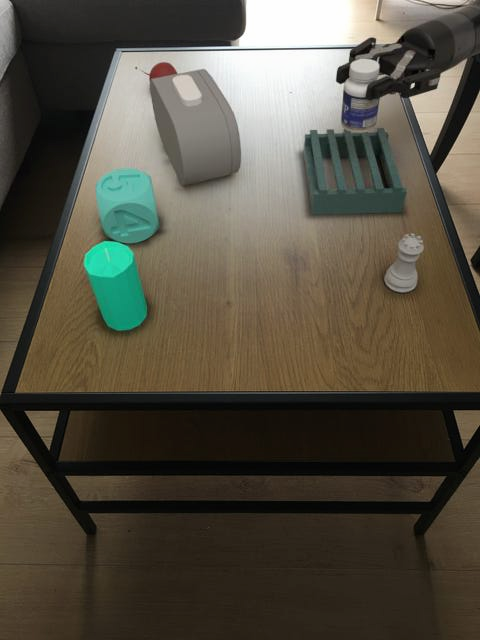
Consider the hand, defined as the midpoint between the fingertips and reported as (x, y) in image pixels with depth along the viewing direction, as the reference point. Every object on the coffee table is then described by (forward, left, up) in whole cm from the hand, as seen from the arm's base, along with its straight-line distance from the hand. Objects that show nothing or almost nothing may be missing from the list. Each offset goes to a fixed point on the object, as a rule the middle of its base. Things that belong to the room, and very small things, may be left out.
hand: (353, 84), depth 74 cm
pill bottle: (-2, -1, -7) cm, 7 cm away
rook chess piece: (-6, +21, -18) cm, 28 cm away
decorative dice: (+33, +8, -18) cm, 38 cm away
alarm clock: (+23, -9, -18) cm, 31 cm away
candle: (+32, +25, -18) cm, 45 cm away
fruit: (+32, -33, -18) cm, 49 cm away
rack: (-2, -2, -18) cm, 18 cm away
